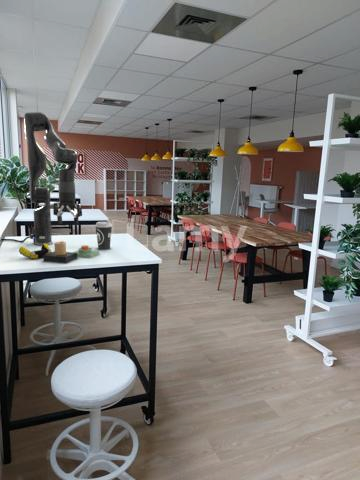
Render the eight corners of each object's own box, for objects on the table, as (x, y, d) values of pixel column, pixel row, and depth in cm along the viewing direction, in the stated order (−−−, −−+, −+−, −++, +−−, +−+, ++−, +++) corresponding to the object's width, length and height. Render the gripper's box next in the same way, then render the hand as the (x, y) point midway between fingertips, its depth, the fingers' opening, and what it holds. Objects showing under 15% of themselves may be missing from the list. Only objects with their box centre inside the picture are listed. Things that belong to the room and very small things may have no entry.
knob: (62, 255, 162) (62, 243, 160) (52, 254, 162) (52, 242, 161) (68, 253, 167) (67, 241, 166) (58, 252, 167) (57, 240, 166)
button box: (71, 256, 173) (70, 249, 172) (80, 252, 182) (79, 246, 181) (90, 258, 171) (90, 251, 170) (98, 254, 179) (98, 247, 179)
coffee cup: (108, 250, 188) (108, 224, 185) (92, 249, 189) (92, 223, 187) (115, 247, 197) (115, 221, 194) (99, 246, 199) (99, 221, 196)
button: (80, 249, 174) (80, 246, 174) (83, 248, 178) (83, 245, 177) (86, 250, 174) (86, 246, 173) (89, 248, 177) (89, 245, 177)
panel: (43, 261, 162) (43, 254, 161) (55, 256, 171) (55, 250, 171) (66, 263, 159) (65, 256, 158) (77, 258, 169) (77, 252, 168)
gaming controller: (17, 257, 167) (27, 261, 161) (17, 246, 166) (27, 249, 160) (46, 252, 179) (56, 256, 173) (45, 242, 178) (56, 245, 172)
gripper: (49, 190, 161) (50, 224, 164) (76, 192, 158) (77, 226, 161) (58, 190, 168) (59, 222, 171) (84, 191, 165) (85, 224, 168)
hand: (68, 224), depth 166 cm, fingers open, 8 cm apart
